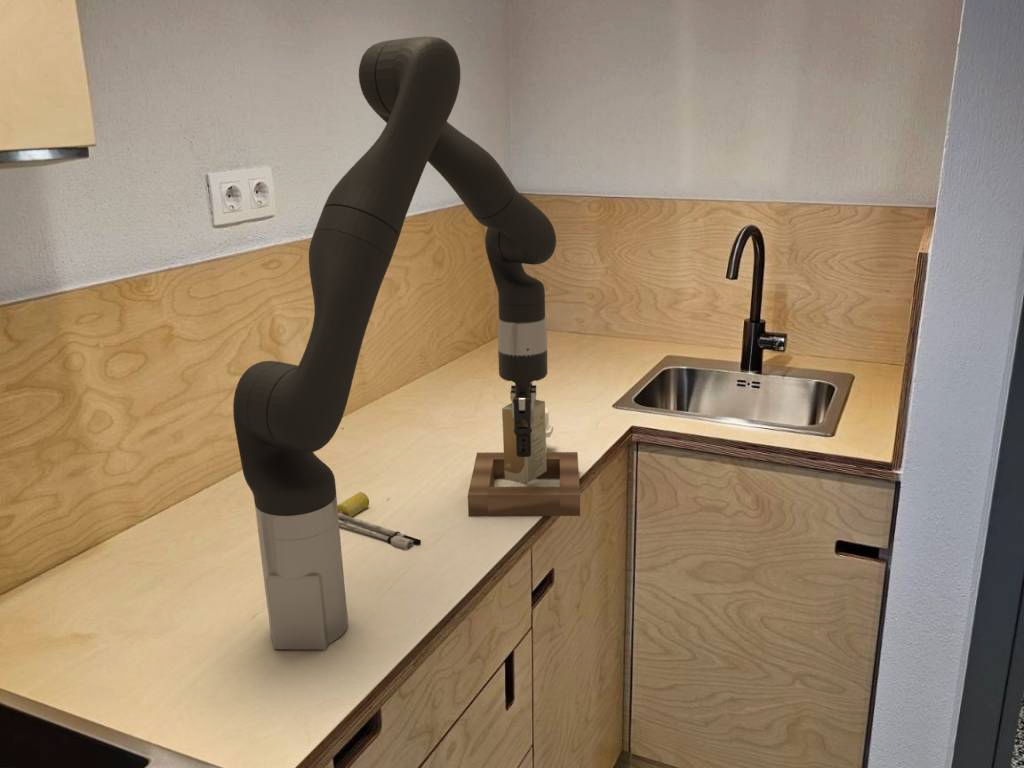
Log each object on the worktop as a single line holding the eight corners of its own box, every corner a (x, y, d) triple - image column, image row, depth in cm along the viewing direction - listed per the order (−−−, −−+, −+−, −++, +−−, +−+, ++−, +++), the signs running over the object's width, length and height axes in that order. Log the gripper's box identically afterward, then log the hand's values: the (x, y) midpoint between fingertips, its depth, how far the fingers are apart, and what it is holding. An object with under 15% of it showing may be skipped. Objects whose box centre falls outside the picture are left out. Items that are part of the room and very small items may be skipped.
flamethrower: (302, 487, 148) (256, 513, 140) (300, 472, 147) (254, 498, 139) (444, 531, 133) (402, 563, 126) (443, 516, 133) (401, 546, 125)
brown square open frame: (580, 515, 136) (580, 494, 135) (468, 516, 137) (467, 495, 136) (577, 471, 152) (577, 452, 151) (477, 471, 153) (477, 452, 152)
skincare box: (525, 466, 147) (524, 395, 143) (547, 471, 145) (546, 400, 141) (502, 479, 142) (500, 407, 139) (525, 485, 140) (523, 412, 136)
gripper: (546, 359, 130) (548, 464, 135) (547, 334, 144) (548, 430, 149) (495, 360, 130) (498, 464, 135) (500, 335, 144) (503, 430, 149)
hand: (524, 446), depth 142 cm, fingers closed on skincare box, 7 cm apart
